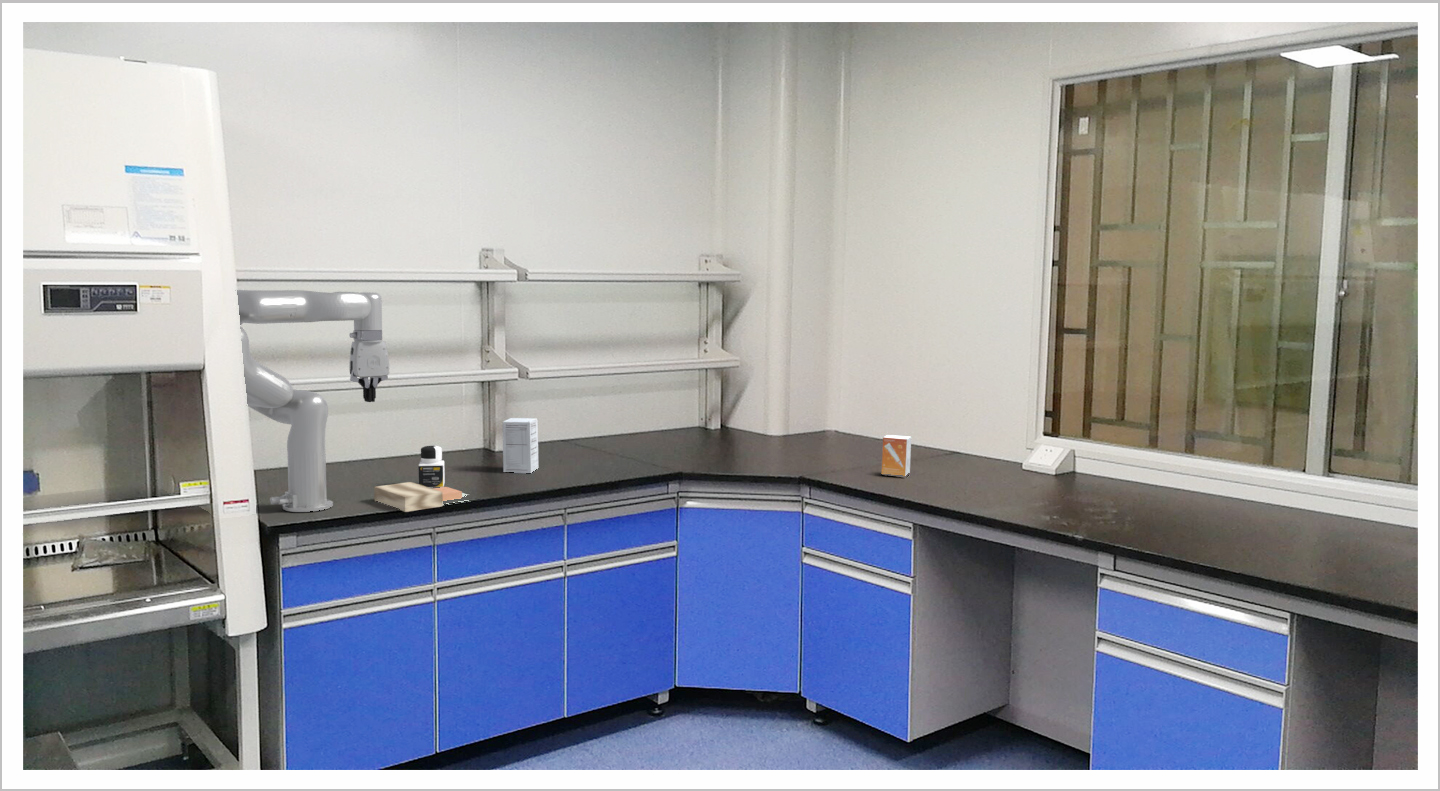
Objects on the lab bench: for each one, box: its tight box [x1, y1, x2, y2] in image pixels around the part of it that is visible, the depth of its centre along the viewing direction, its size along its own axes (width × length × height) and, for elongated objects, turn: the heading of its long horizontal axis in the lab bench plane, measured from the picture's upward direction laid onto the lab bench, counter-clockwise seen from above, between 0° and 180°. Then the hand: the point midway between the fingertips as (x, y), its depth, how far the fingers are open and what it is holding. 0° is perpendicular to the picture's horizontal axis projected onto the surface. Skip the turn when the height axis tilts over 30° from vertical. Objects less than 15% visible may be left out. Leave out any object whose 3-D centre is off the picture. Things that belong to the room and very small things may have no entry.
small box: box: [880, 434, 912, 476], centre depth 347 cm, size 8×6×13 cm
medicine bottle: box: [417, 445, 446, 489], centre depth 319 cm, size 7×7×12 cm
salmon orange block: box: [432, 486, 463, 501], centre depth 302 cm, size 9×6×2 cm, turn 43°
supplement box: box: [502, 417, 539, 474], centre depth 345 cm, size 10×9×17 cm
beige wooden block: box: [373, 481, 444, 513], centre depth 295 cm, size 11×18×4 cm, turn 44°
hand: (369, 401), depth 301 cm, fingers closed
